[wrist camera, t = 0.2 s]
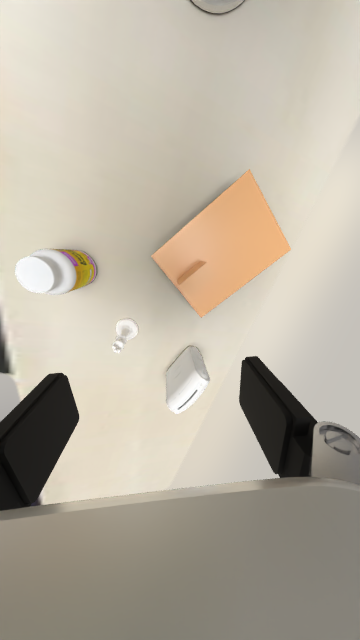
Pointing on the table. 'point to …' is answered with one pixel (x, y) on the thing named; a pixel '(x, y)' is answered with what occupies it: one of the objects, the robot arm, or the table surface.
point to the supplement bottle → (55, 271)
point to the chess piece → (124, 333)
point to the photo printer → (186, 380)
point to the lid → (223, 246)
